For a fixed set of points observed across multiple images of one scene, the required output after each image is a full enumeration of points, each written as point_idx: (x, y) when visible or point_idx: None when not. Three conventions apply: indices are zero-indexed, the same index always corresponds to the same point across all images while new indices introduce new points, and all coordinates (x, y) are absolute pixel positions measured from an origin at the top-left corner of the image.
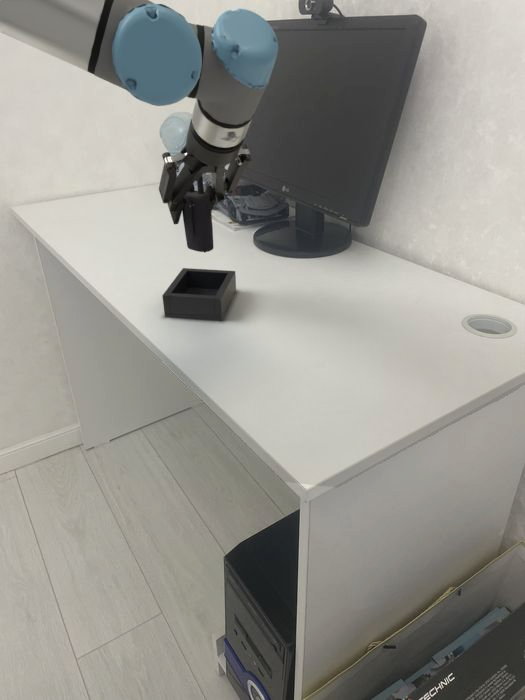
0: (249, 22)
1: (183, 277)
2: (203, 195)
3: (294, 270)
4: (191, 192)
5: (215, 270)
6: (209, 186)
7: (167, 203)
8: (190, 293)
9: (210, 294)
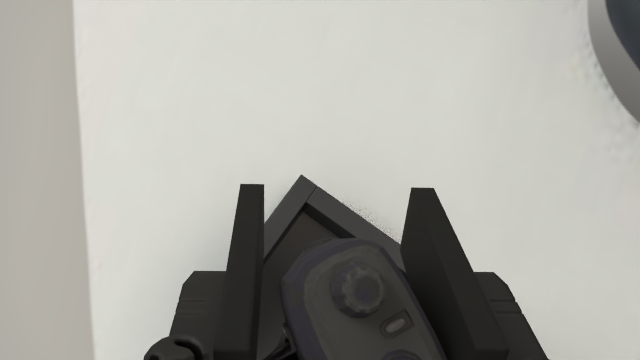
0: None
1: (280, 236)
2: None
3: (630, 221)
4: (348, 317)
5: (388, 243)
6: (489, 354)
7: (182, 291)
8: (293, 254)
9: None
